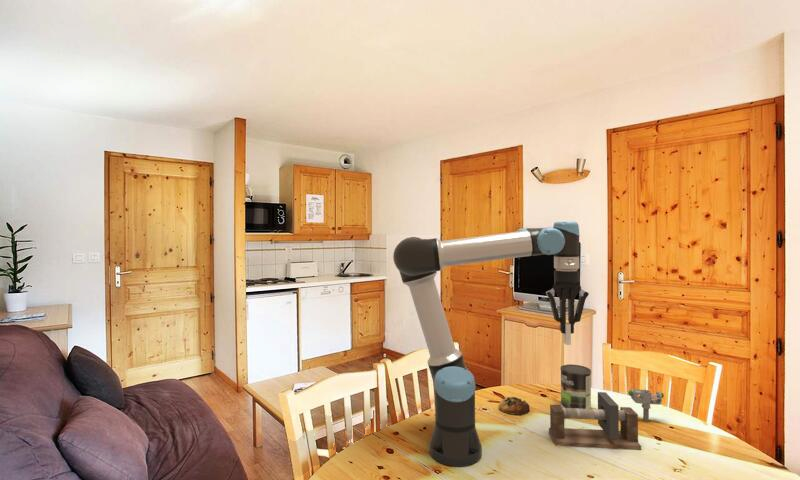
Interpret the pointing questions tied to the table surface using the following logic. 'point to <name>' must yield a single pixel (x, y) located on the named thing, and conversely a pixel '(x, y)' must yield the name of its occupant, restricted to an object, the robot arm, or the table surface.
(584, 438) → the pipe rig
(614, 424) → the dark grey square plate
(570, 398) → the coffee can
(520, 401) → the bread roll
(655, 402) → the mechanical component
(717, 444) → the table surface
